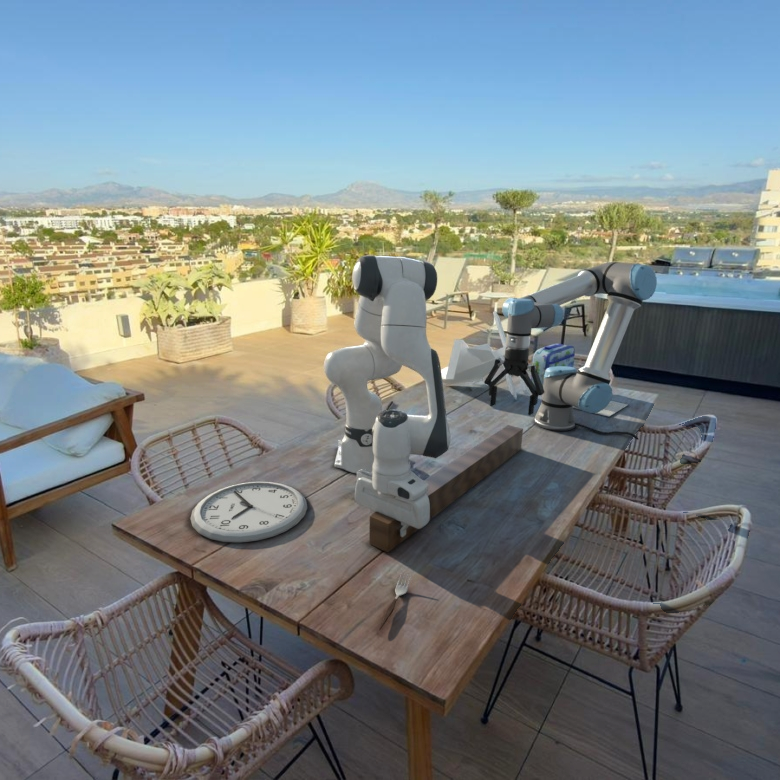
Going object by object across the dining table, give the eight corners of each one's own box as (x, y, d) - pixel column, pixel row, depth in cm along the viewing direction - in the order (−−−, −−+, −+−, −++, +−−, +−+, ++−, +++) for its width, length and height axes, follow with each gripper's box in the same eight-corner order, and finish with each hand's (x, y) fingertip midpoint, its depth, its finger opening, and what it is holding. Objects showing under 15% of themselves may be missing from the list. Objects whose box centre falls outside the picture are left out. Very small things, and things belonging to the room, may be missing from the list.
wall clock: (302, 534, 126) (174, 538, 123) (303, 540, 126) (175, 544, 124) (310, 477, 154) (206, 479, 152) (310, 482, 155) (206, 484, 152)
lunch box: (547, 395, 239) (552, 351, 233) (526, 390, 247) (530, 347, 240) (574, 384, 257) (579, 343, 251) (554, 380, 264) (558, 339, 258)
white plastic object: (461, 429, 252) (437, 405, 227) (444, 352, 274) (420, 323, 250) (535, 404, 240) (518, 377, 215) (510, 326, 262) (492, 293, 237)
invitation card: (608, 416, 214) (573, 407, 224) (608, 416, 214) (573, 408, 224) (628, 404, 229) (594, 396, 238) (628, 405, 229) (594, 397, 238)
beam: (506, 445, 185) (507, 424, 182) (521, 449, 181) (523, 428, 179) (369, 544, 126) (369, 516, 123) (387, 552, 123) (388, 524, 120)
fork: (373, 630, 99) (373, 621, 98) (400, 579, 113) (400, 571, 112) (386, 633, 98) (386, 625, 97) (412, 582, 112) (412, 574, 112)
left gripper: (348, 471, 126) (349, 521, 130) (419, 497, 115) (417, 551, 119) (365, 462, 131) (365, 511, 135) (434, 486, 119) (432, 539, 123)
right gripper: (477, 343, 173) (472, 404, 179) (550, 355, 159) (543, 420, 165) (487, 340, 179) (482, 399, 185) (559, 351, 164) (551, 414, 171)
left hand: (390, 530), depth 127 cm, fingers closed on beam, 5 cm apart
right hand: (511, 409), depth 175 cm, fingers open, 13 cm apart
